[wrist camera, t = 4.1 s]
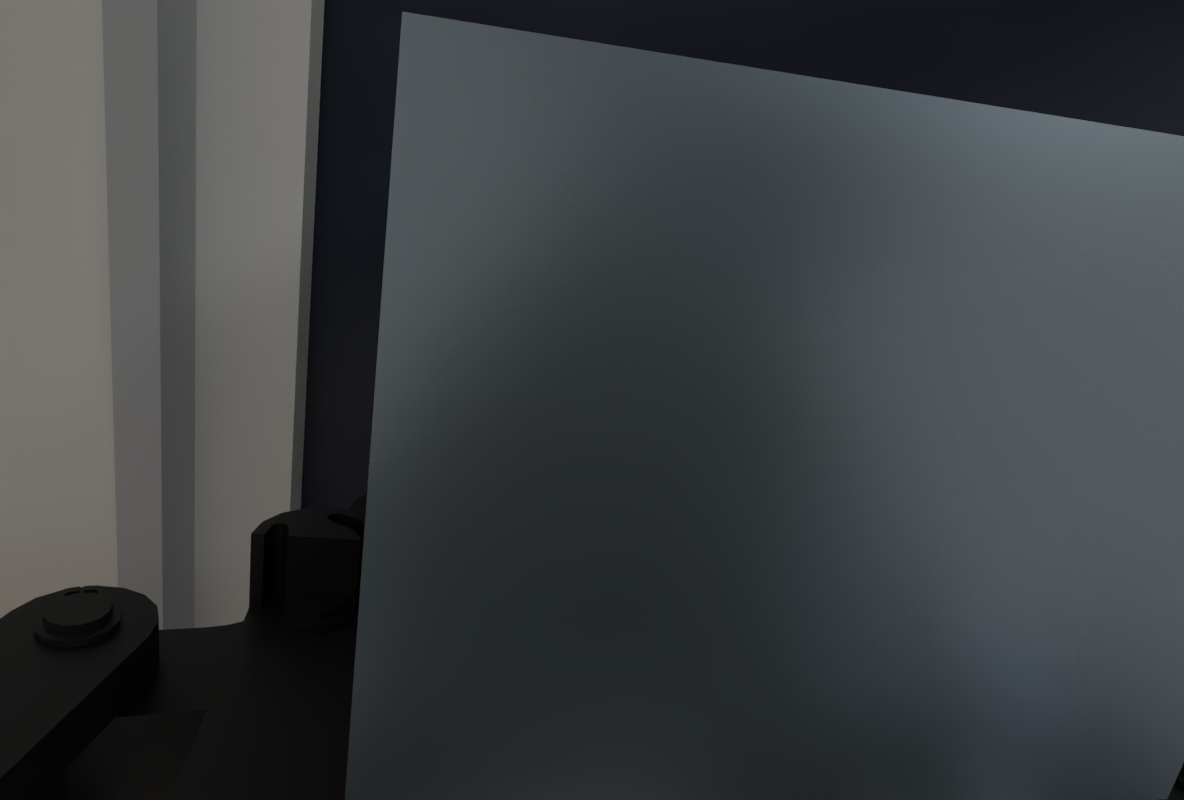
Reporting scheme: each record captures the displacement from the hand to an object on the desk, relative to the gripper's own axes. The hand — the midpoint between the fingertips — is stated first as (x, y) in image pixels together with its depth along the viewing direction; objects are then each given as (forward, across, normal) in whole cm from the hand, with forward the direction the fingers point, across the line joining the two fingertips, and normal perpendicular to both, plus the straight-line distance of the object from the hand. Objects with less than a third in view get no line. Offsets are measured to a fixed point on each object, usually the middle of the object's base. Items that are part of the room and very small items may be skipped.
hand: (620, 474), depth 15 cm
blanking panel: (+1, 0, 0) cm, 1 cm away
